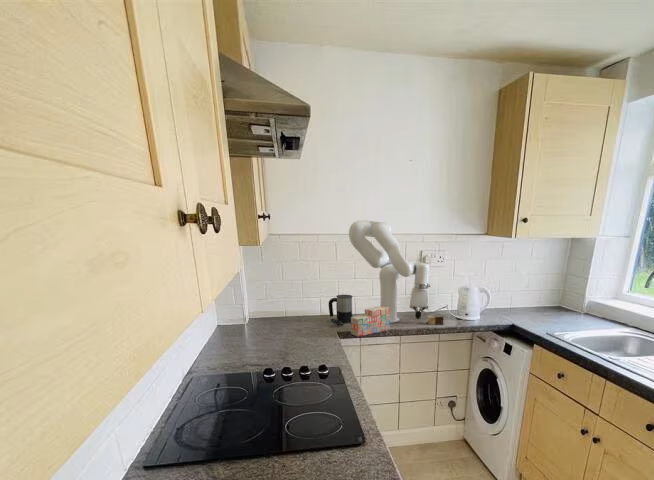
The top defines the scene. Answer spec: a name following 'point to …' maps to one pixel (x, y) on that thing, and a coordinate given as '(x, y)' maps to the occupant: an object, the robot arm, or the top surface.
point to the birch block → (431, 320)
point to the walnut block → (439, 319)
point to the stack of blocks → (371, 321)
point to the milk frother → (341, 309)
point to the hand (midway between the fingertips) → (417, 318)
